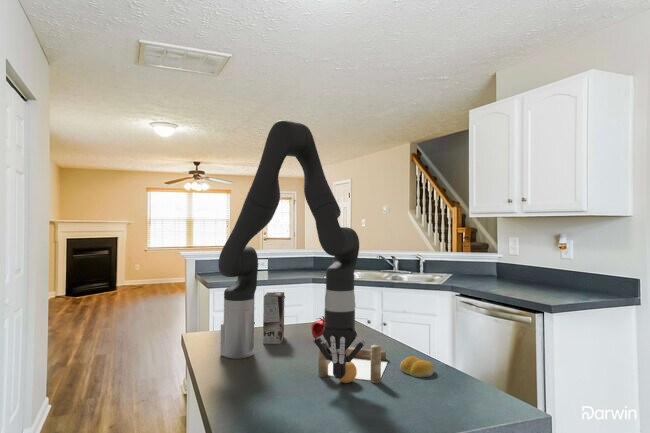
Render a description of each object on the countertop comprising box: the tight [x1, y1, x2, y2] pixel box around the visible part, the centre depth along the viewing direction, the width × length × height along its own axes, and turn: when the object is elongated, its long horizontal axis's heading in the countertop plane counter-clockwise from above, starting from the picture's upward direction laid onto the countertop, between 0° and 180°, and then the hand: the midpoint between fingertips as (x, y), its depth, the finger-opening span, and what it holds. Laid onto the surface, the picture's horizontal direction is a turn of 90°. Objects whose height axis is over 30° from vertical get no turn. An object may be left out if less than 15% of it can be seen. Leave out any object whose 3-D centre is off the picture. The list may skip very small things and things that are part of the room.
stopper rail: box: [339, 346, 387, 362], centre depth 127 cm, size 14×2×2 cm, turn 74°
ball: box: [337, 362, 357, 384], centre depth 107 cm, size 6×6×6 cm
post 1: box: [317, 341, 329, 378], centre depth 112 cm, size 3×3×9 cm
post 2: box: [370, 344, 382, 384], centre depth 108 cm, size 3×3×9 cm
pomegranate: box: [310, 315, 326, 340], centre depth 146 cm, size 10×10×9 cm
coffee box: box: [262, 291, 285, 345], centre depth 145 cm, size 9×6×16 cm
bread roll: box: [399, 355, 435, 378], centre depth 115 cm, size 8×9×4 cm
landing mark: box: [327, 358, 388, 382], centre depth 117 cm, size 16×16×1 cm
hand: (339, 377), depth 104 cm, fingers closed
